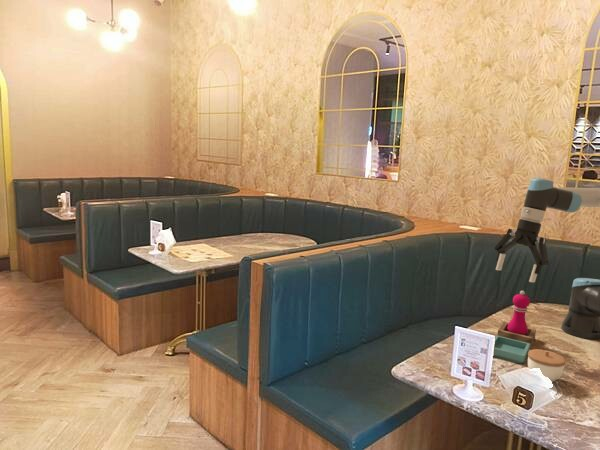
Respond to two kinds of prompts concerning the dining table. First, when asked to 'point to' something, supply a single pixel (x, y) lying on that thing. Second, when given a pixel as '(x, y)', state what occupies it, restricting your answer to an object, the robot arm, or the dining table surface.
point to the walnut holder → (524, 338)
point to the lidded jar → (546, 363)
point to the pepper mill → (519, 314)
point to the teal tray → (511, 349)
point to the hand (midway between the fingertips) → (514, 275)
